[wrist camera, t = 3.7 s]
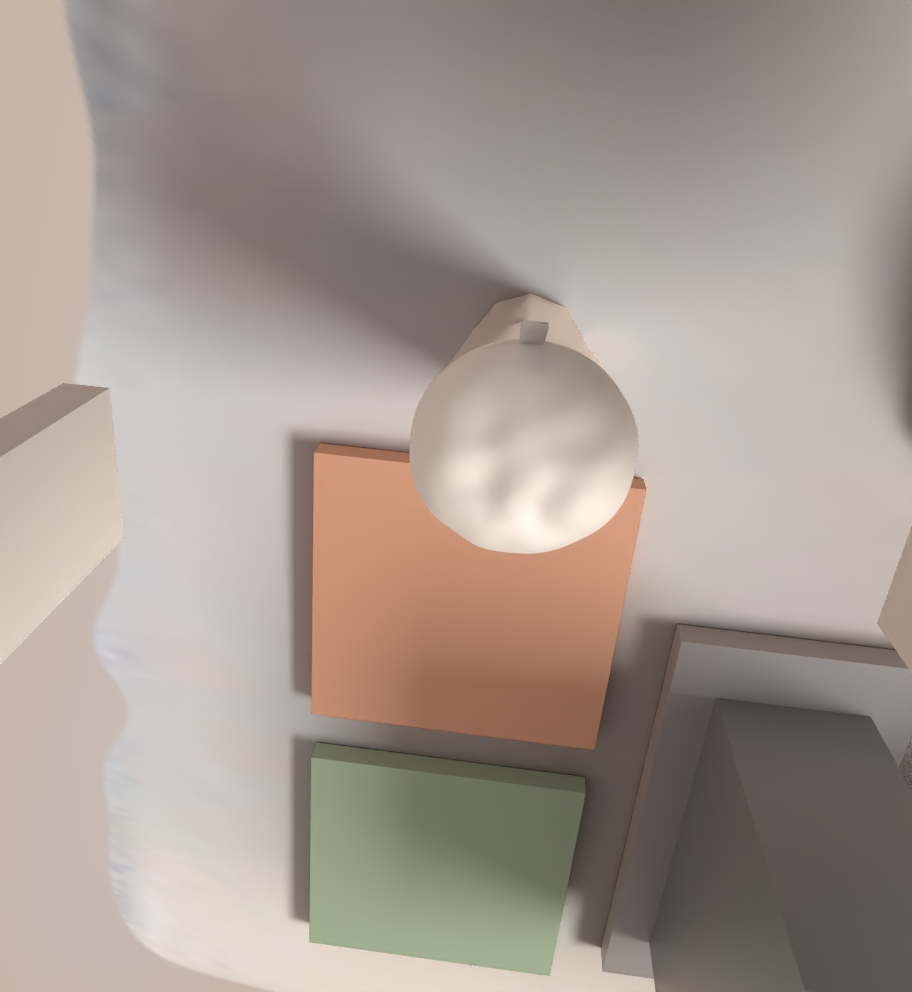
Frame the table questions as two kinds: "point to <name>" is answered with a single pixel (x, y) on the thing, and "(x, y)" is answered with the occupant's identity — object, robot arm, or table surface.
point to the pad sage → (440, 857)
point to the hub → (770, 822)
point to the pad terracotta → (457, 612)
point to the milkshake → (523, 434)
